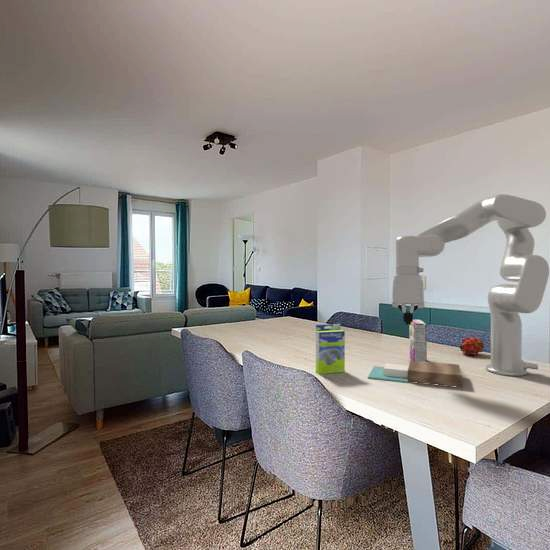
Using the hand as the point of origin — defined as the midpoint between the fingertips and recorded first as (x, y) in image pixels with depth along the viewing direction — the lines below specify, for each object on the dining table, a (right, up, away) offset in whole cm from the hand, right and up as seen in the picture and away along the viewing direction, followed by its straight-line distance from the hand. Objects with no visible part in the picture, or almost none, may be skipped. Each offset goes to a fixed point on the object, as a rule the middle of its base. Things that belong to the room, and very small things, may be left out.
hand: (408, 324), depth 128 cm
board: (+8, -18, -3) cm, 20 cm away
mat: (-6, -18, +3) cm, 19 cm away
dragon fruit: (+39, -18, +31) cm, 53 cm away
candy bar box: (+11, -18, +20) cm, 29 cm away
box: (-26, -19, +7) cm, 33 cm away
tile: (-4, -18, +1) cm, 18 cm away
